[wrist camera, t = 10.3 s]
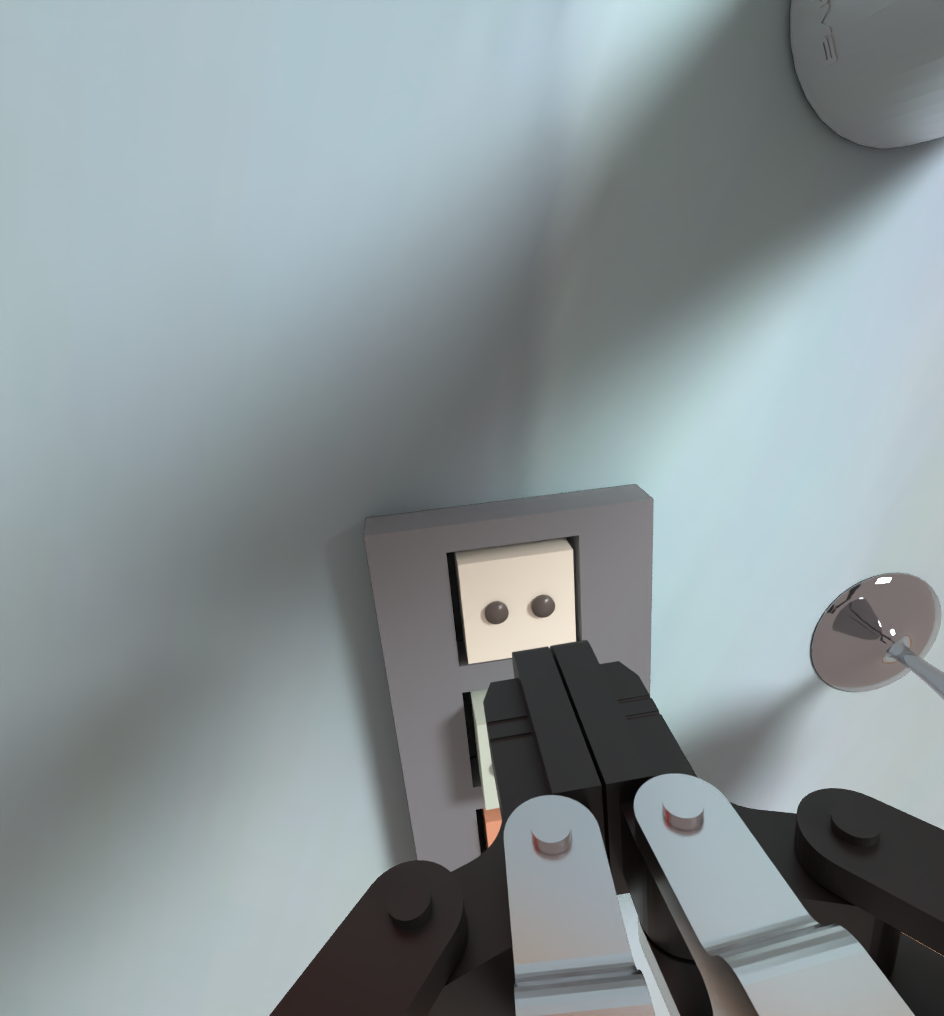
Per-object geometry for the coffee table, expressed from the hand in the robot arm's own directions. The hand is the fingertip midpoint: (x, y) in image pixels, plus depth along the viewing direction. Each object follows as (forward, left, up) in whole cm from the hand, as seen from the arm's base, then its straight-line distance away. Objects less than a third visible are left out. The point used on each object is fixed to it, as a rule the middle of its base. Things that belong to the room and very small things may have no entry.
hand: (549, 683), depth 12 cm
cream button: (-2, +6, -15) cm, 16 cm away
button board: (-1, +13, -15) cm, 20 cm away
